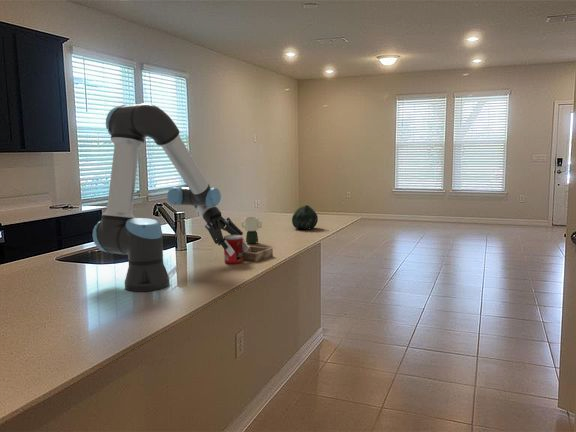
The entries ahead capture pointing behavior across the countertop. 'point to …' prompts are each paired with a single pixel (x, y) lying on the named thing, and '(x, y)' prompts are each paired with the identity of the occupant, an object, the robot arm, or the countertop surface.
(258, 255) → the crate
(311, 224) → the squash
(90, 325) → the countertop surface
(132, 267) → the robot arm
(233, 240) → the canned food
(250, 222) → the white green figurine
